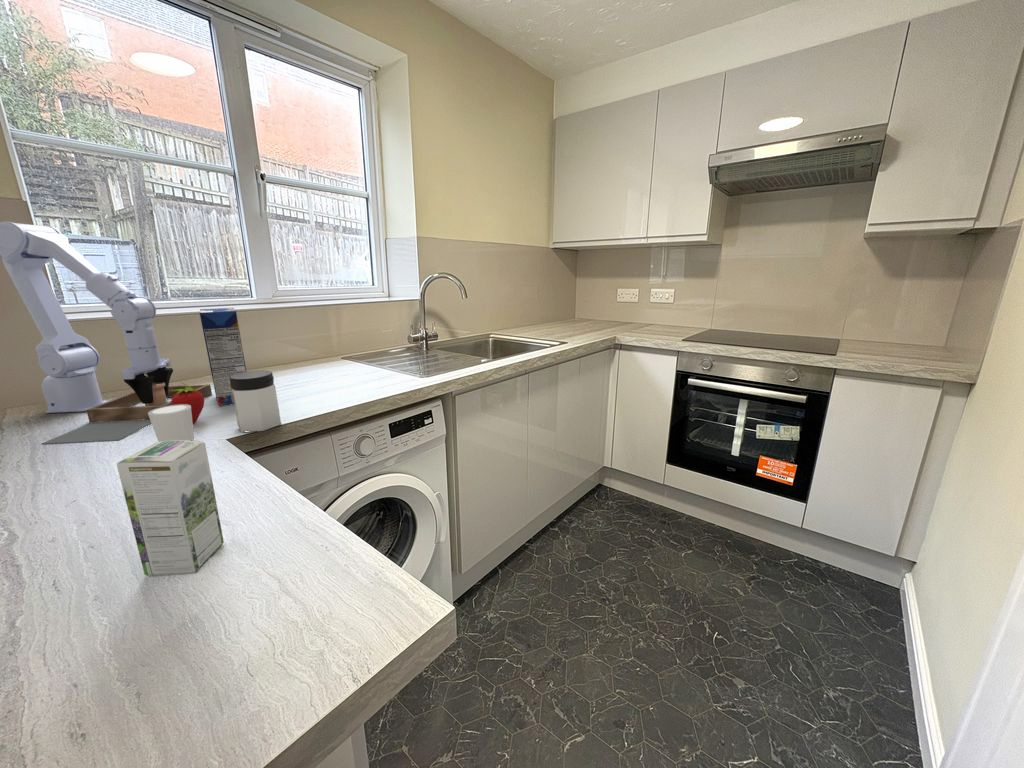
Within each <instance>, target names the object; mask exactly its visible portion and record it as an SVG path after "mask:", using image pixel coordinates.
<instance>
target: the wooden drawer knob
mask: <svg viewBox="0 0 1024 768" xmlns="http://www.w3.org/2000/svg"><path fill="white" fill-rule="evenodd" d="M165 386H166V385H165V382H153V384H152V392H153V403H149V404H144V406H161V405H164V404H166V403H168V399H167V397H166V394H165V390H164V387H165Z"/></svg>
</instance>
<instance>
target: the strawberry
mask: <svg viewBox="0 0 1024 768" xmlns="http://www.w3.org/2000/svg"><path fill="white" fill-rule="evenodd" d="M180 383H182V385H186V388H185V389H177V390H171V391H179V392H178V393H177V394H175V395H174V396H173V397H171V400H170V401H171V404H172V405H179V404H186V405H191V412H192V422H193V424H195V423H197V421H198V419H199V417H200V416H201V414H202V412H203V408H204V405H205V399H204V397H203V395H202V393H200V392H199V391H196V390H195V389H198V388H191V387H187V385H188V384H185V383H184V382H182V381H180Z"/></svg>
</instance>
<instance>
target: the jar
mask: <svg viewBox="0 0 1024 768" xmlns="http://www.w3.org/2000/svg"><path fill="white" fill-rule="evenodd" d="M274 379H275V378H274V375H273V372H272V371H270V370H266V369H265V370H264V369H263V370H262V369H261V370H260V369H257V370H248V371H247V370H246V372H240V373H236V374H233V375H231V376H230V377H229V380H230V385H231V391H232V396H233V402H234V404H233V406H234V411H235V416H236V422H237V427H238V429H239V431H240V432H241V433H246V432H245V431H257V432H265V431H268V430H270V429H273V428H275V427H278V426H280V425H282V421H281V414H280V407H279V401H278V395H277V389H276V384H275V382H274V381H275V380H274ZM257 432H256V433H257Z"/></svg>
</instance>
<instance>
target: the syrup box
mask: <svg viewBox="0 0 1024 768" xmlns="http://www.w3.org/2000/svg"><path fill="white" fill-rule="evenodd" d="M116 467H117V472H118V475H119V479H120V483H121V487H122V491H123V495H124V499H125V503H126V507H127V510H128V511H127V512H128V515H129V518H130V523H131V527H132V531H133V534H134V537H135V542H136V545H137V551H138V554H139V557H140V562H141V566H142V570H143V574H144V576H148V577H149V576H166V575H168V576H170V575H181V574H182V575H183V574H185V575H186V574H196V573H197V572H198V571H199V570H200V569H201V568H203V566H204V565H205V564H206V563H207V562H208V560H210V558H211V557H212V556H213V555H214V554H215V553H216V552H217V551H218V550H219V549H220V547H222V546H223V544H224V542H225V541H224V536H223V530H222V525H221V520H220V515H219V510H218V505H217V499H216V493H215V488H214V483H213V482H214V481H213V477H212V472H211V468H210V462H209V457H208V452H207V446H206V443H205V442H204V441H200V440H199V441H197V440H192V441H188V440H172V441H161V442H158V441H156V442H153V443H152V444H150V445H148V446H146V447H145V448H142V449H140V450H139V451H137V452H135V453H133V454H131V455H129V456H127V457H126V458H123V459H122V460H120V461H118V462H117V463H116Z"/></svg>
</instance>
